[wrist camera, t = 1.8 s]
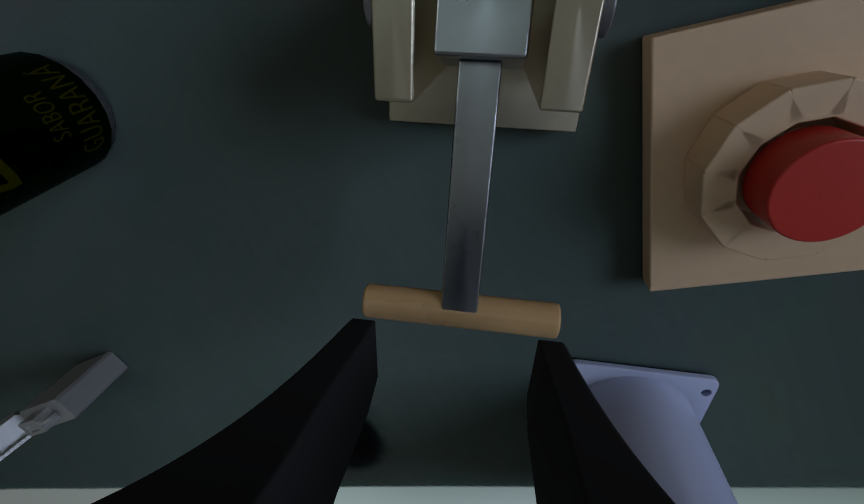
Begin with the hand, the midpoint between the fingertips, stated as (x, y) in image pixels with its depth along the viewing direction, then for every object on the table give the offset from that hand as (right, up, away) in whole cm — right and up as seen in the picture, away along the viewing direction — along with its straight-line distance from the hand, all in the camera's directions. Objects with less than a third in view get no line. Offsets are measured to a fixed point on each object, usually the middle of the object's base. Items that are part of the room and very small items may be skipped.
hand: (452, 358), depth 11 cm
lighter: (-26, -6, +20) cm, 33 cm away
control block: (+13, +7, +6) cm, 16 cm away
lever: (+1, +6, +2) cm, 6 cm away
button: (+13, +6, +4) cm, 14 cm away
